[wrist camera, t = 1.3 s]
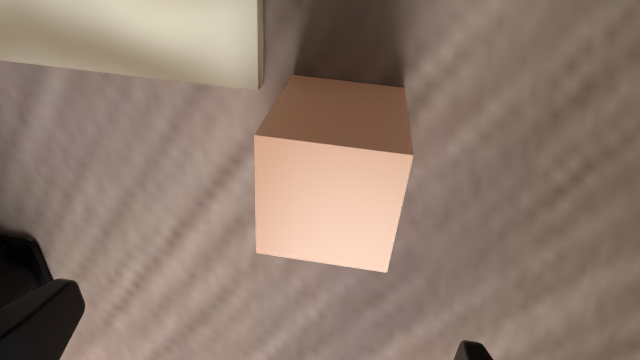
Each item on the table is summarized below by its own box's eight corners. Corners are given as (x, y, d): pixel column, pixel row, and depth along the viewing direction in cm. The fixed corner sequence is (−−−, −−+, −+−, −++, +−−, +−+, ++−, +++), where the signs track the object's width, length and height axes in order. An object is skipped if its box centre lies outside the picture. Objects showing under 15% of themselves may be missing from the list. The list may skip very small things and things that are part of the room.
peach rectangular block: (386, 182, 21) (386, 272, 15) (289, 169, 21) (256, 253, 16) (404, 87, 18) (413, 155, 13) (292, 74, 19) (254, 134, 13)
